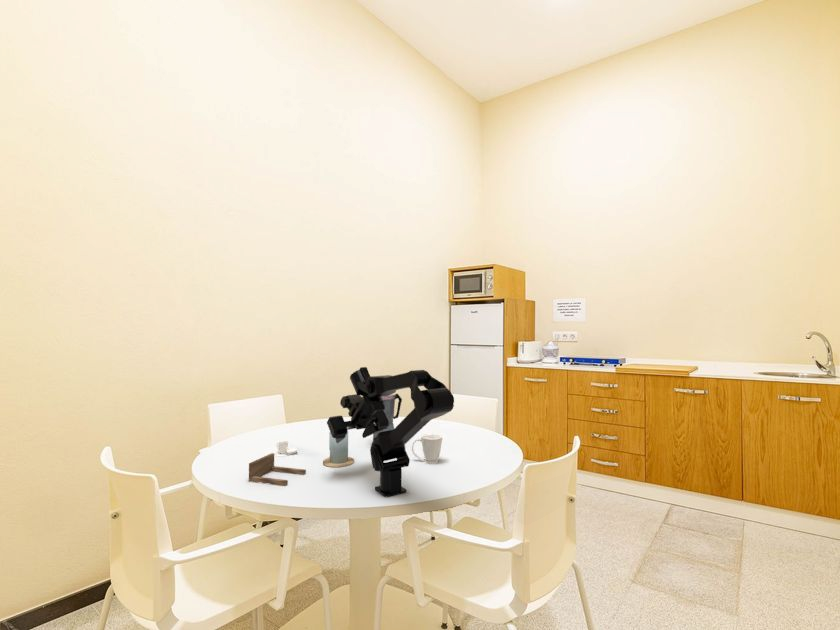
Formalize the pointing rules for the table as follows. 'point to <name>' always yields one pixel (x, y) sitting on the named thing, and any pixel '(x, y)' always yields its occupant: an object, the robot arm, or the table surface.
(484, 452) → the table surface
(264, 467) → the dock
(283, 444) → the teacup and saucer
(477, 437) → the table surface
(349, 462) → the coaster
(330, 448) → the jug
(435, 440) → the cup
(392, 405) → the moka pot
